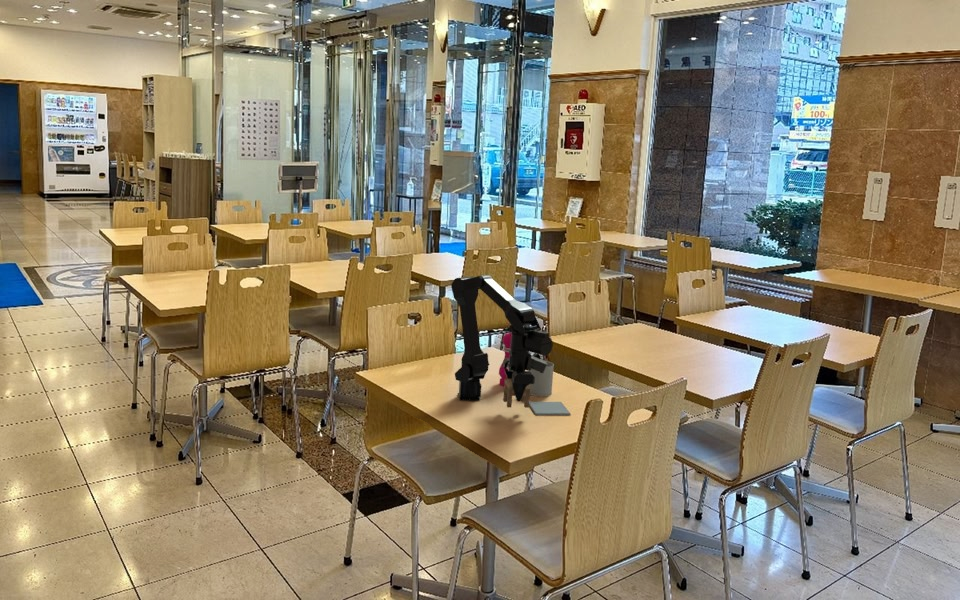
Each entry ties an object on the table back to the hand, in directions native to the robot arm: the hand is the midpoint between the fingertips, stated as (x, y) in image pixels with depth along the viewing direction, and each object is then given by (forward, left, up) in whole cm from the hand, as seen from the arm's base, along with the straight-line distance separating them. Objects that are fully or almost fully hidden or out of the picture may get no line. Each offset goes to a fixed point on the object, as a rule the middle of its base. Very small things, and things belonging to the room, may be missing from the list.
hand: (516, 397), depth 237 cm
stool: (0, 0, -2) cm, 2 cm away
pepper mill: (+4, +30, -6) cm, 31 cm away
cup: (+13, +22, -6) cm, 26 cm away
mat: (+12, +5, -6) cm, 14 cm away
